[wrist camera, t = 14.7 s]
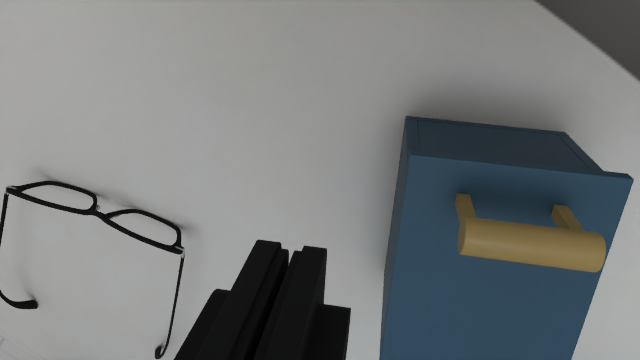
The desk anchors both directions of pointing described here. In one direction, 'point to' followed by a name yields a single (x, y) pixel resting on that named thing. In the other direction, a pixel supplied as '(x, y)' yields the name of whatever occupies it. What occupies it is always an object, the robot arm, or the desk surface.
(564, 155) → the chest
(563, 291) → the lid
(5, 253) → the desk surface
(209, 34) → the desk surface
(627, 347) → the desk surface
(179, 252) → the eyeglasses
